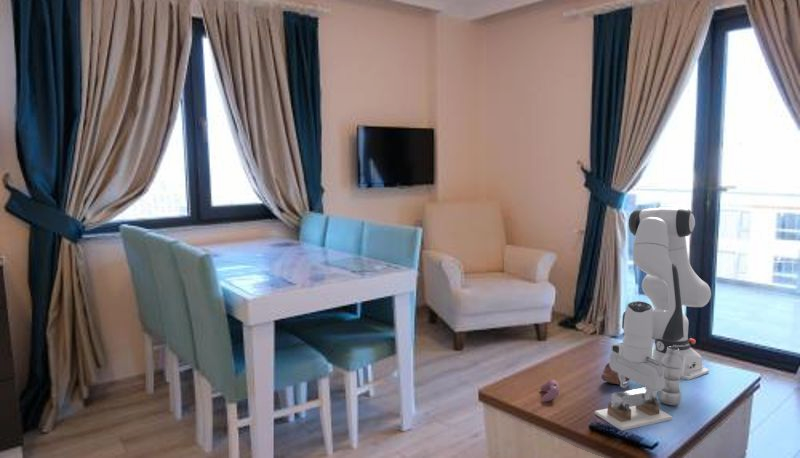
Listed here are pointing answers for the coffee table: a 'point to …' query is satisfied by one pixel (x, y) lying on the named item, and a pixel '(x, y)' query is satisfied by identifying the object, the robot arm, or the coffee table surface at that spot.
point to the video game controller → (550, 390)
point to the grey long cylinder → (631, 398)
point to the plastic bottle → (671, 377)
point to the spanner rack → (634, 415)
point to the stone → (611, 375)
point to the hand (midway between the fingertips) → (634, 393)
